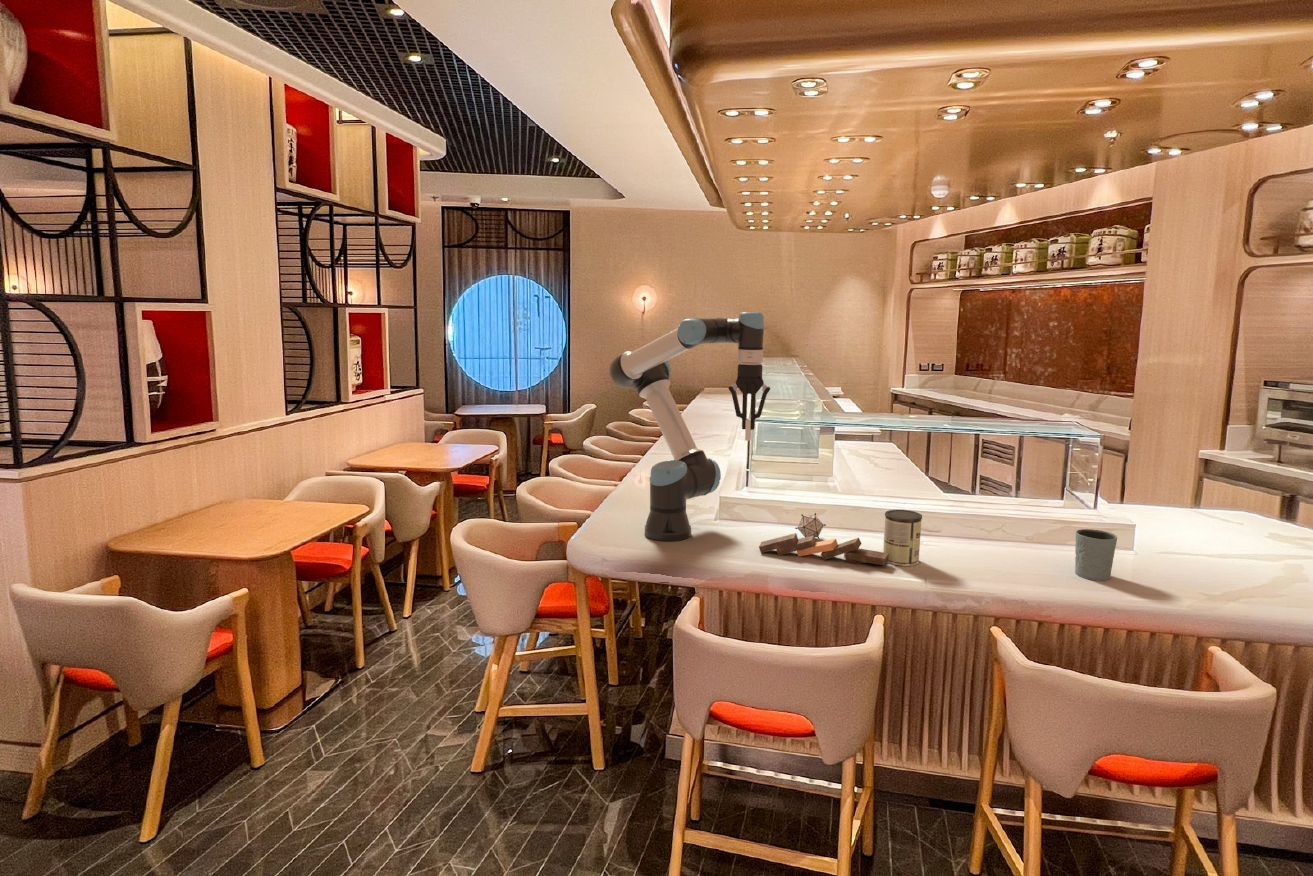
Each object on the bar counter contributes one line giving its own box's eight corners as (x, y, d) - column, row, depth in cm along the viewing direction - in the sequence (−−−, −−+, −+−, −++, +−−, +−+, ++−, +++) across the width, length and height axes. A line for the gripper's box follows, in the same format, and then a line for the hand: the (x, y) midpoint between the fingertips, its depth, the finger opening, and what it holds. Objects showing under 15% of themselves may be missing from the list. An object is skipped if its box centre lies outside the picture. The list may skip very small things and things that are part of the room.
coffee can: (883, 553, 230) (885, 508, 227) (918, 557, 227) (922, 511, 224) (881, 564, 220) (884, 517, 218) (918, 568, 217) (922, 520, 215)
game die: (814, 551, 243) (825, 532, 236) (789, 540, 244) (800, 521, 237) (820, 531, 249) (831, 512, 242) (796, 521, 250) (806, 502, 243)
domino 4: (820, 554, 223) (855, 542, 218) (824, 549, 228) (858, 537, 223) (823, 560, 223) (858, 548, 218) (827, 555, 227) (861, 543, 222)
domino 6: (846, 552, 220) (884, 558, 215) (850, 547, 225) (888, 553, 219) (845, 558, 221) (884, 565, 215) (850, 553, 225) (888, 559, 220)
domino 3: (796, 550, 226) (831, 543, 221) (801, 545, 230) (835, 538, 225) (798, 556, 226) (833, 550, 221) (803, 551, 231) (837, 545, 225)
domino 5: (847, 558, 221) (885, 558, 221) (844, 552, 226) (881, 553, 225) (847, 564, 222) (885, 565, 221) (843, 558, 227) (881, 559, 226)
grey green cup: (1095, 583, 206) (1100, 541, 204) (1062, 571, 215) (1067, 530, 213) (1121, 578, 210) (1126, 536, 208) (1087, 567, 219) (1092, 526, 217)
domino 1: (758, 546, 228) (793, 537, 225) (761, 541, 233) (796, 533, 230) (760, 553, 229) (796, 544, 225) (763, 548, 233) (798, 539, 230)
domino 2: (776, 549, 227) (811, 540, 223) (778, 544, 232) (813, 535, 228) (778, 555, 227) (813, 546, 223) (780, 550, 232) (815, 541, 228)
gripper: (727, 363, 229) (725, 441, 233) (771, 365, 226) (768, 443, 230) (730, 362, 236) (728, 436, 240) (772, 363, 234) (769, 438, 238)
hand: (747, 439), depth 235 cm, fingers closed
